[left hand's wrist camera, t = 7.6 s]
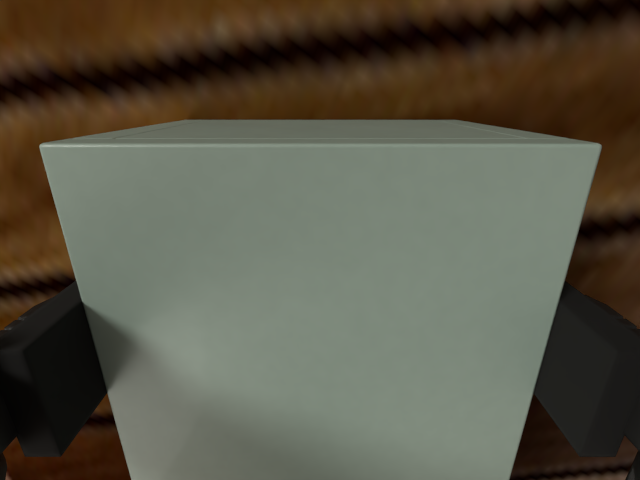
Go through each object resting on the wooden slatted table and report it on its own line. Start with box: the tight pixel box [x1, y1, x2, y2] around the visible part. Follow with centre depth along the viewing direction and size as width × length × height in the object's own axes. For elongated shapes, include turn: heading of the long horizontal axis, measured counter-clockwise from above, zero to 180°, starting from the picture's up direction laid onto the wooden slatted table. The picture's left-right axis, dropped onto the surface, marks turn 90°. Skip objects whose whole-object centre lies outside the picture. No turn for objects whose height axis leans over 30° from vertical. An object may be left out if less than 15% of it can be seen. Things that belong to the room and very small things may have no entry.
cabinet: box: [40, 120, 602, 480], centre depth 14 cm, size 16×11×8 cm
